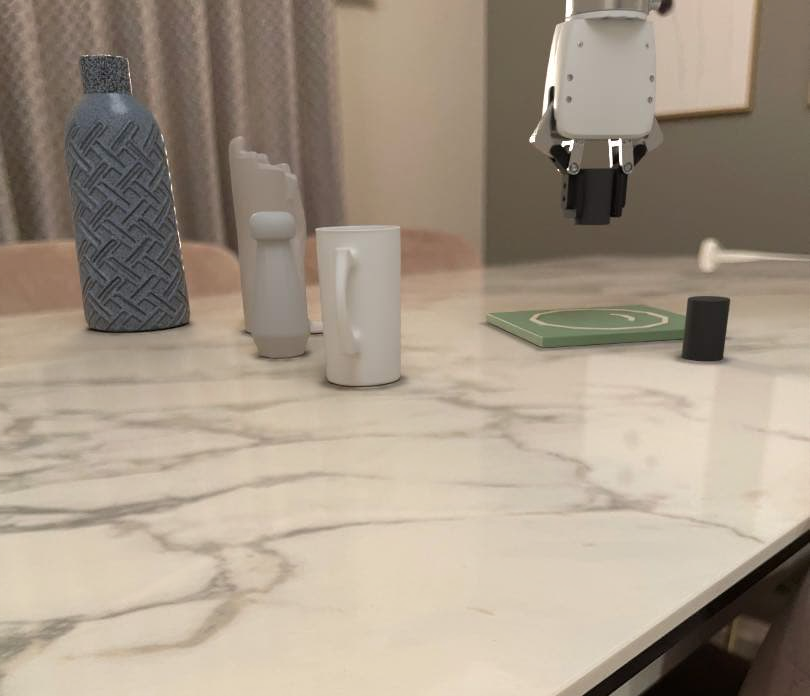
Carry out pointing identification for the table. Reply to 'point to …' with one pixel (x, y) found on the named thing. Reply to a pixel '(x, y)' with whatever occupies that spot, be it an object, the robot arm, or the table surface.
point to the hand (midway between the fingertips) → (592, 215)
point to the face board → (591, 325)
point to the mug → (360, 303)
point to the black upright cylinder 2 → (705, 328)
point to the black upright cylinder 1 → (596, 196)
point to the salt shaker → (277, 289)
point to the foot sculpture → (264, 192)
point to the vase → (122, 206)
